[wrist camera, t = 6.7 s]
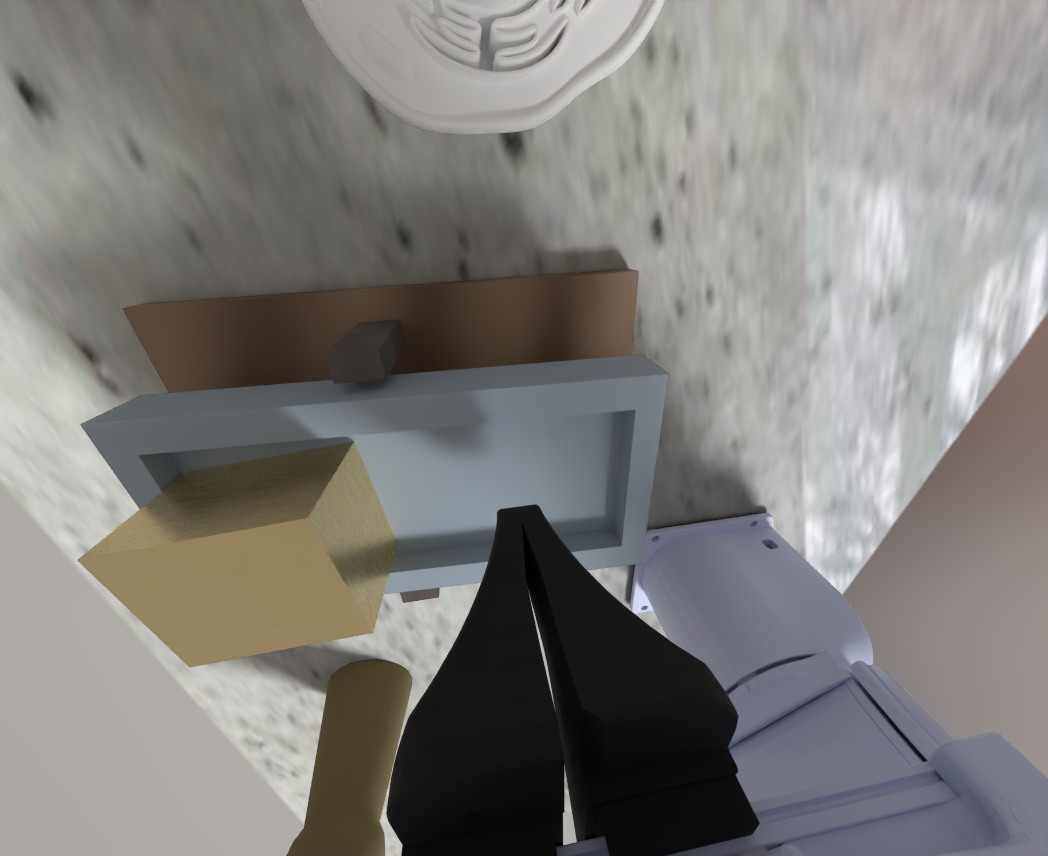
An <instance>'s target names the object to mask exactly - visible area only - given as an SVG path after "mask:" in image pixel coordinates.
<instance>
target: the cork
mask: <svg viewBox="0 0 1048 856" xmlns="http://www.w3.org/2000/svg"><path fill="white" fill-rule="evenodd" d="M411 687H412V677H411V675H410V673H409V671H408V670H406V669H405V668H404V667H402V666H401V665H398V664H395V663H393V662H389V661H381V660H366V661H360V662H356V663H351V664H349V665H347V666H345V667H342V668H340V669H339V670H338V671H337V672H335V673H334V674H333V675H332V677H331V679H330V681H329V683H328V689H327V695H326V701H325V707H324V712H323V718H322V724H321V730H320V736H319V742H318V748H317V754H316V760H315V766H314V772H313V777H312V783H311V789H310V795H309V801H308V807H307V813H306V819H305V825H304V829H303V830H302V831H301V832H300V834H299V835H298V837H297V838H296V839H295V840H294V842H293V844H292V845H291V847H290V850H289V852H288V854H287V856H385V838H384V832H383V829H382V827H381V824H380V818H381V814H382V809H383V805H384V801H385V797H386V793H387V788H388V784H389V780H390V776H391V771H392V767H393V763H394V759H395V755H396V750H397V746H398V742H399V738H400V734H401V729H402V725H403V721H404V717H405V712H406V708H407V704H408V700H409V696H410V691H411Z"/></svg>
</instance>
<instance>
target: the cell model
mask: <svg viewBox="0 0 1048 856" xmlns="http://www.w3.org/2000/svg"><path fill="white" fill-rule="evenodd" d="M302 2H303V4H304V7H305V9H306V11H307V13H308V14H309V16H310V18H311V20H312V21H313V23H314V25H315V27H316V29H317V30H318V32H319V34H320V35H321V37H322V38H323V40H324V41H325V43H326V44H327V46H328V47H329V49H330V50H331V52H332V53H333V54H334V56H335V57H336V58H337V60H338V61H339V62H340V64H341V65H342V66H343V67H344V68H345V69H346V71H347V72H348V73H349V74H350V75H351V76H352V78H353V79H354V80H355V81H356V82H357V83H358V84H359V85H360V86H361V87H362V88H363V89H364V90H365V91H366V92H368V93H369V94H370V95H371V96H372V97H373V98H374V99H375V100H376V101H378V102H379V103H380V104H381V105H382V106H383V107H385V108H386V109H387V110H389V111H390V112H391V113H393V114H394V115H395V116H397V117H399V118H400V119H402V120H403V121H405V122H407V123H409V124H411V125H413V126H415V127H418V128H421V129H424V130H428V131H433V132H439V133H448V134H489V133H508V132H518V131H524V130H528V129H532V128H535V127H537V126H539V125H542V124H544V123H545V122H547V121H548V120H550V119H551V118H553V117H554V116H555V115H557V114H558V113H559V112H560V111H561V110H563V109H564V108H565V107H566V106H567V105H568V104H569V103H571V102H572V101H573V100H574V99H575V98H576V97H577V96H579V95H580V94H581V93H582V92H583V91H585V90H586V89H588V88H589V87H591V86H592V85H594V84H595V83H597V82H598V81H600V80H602V79H603V78H605V77H606V76H608V75H610V74H611V73H612V72H614V71H615V70H616V69H618V68H619V67H621V66H622V65H623V64H624V63H625V62H626V61H627V60H628V59H629V58H630V57H631V55H632V54H633V53H634V52H635V51H636V49H637V48H638V47H639V46H640V44H641V43H642V41H643V40H644V39H645V37H646V36H647V34H648V32H649V31H650V29H651V27H652V26H653V24H654V22H655V20H656V18H657V17H658V15H659V13H660V10H661V8H662V6H663V4H664V2H665V0H302Z"/></svg>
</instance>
